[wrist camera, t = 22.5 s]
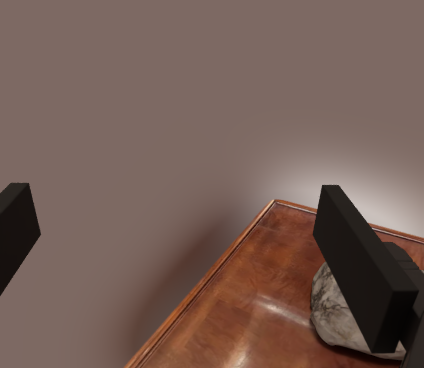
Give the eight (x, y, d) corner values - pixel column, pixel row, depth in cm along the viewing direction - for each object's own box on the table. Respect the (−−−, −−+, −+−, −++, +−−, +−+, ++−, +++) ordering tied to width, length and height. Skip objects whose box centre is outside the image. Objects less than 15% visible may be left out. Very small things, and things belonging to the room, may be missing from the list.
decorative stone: (448, 299, 53) (464, 253, 47) (471, 393, 43) (495, 350, 37) (313, 282, 60) (312, 241, 54) (306, 361, 50) (304, 321, 44)
